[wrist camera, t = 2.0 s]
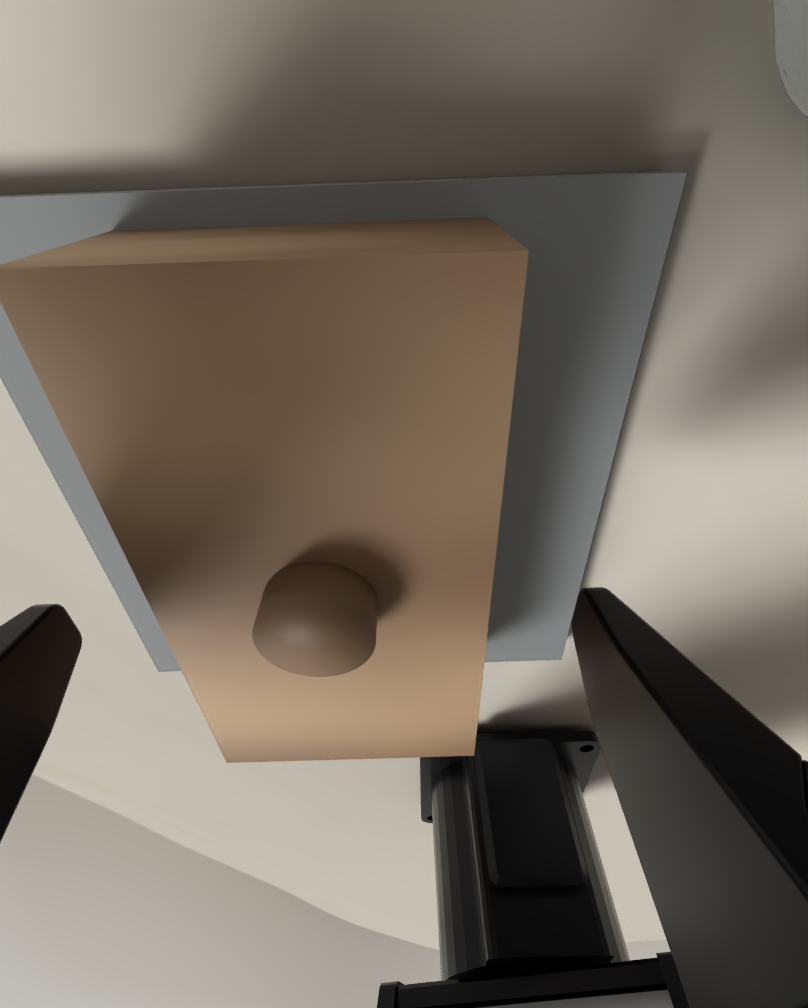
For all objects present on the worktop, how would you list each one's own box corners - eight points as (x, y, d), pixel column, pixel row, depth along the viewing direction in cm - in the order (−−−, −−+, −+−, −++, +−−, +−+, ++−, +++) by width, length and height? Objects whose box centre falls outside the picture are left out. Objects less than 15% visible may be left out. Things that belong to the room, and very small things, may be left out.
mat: (556, 643, 15) (561, 659, 15) (166, 654, 15) (158, 671, 15) (669, 170, 8) (686, 172, 7) (-66, 197, 8) (-95, 200, 8)
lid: (460, 652, 14) (478, 790, 11) (255, 658, 14) (217, 797, 11) (487, 217, 8) (547, 264, 5) (112, 230, 8) (-71, 286, 5)
